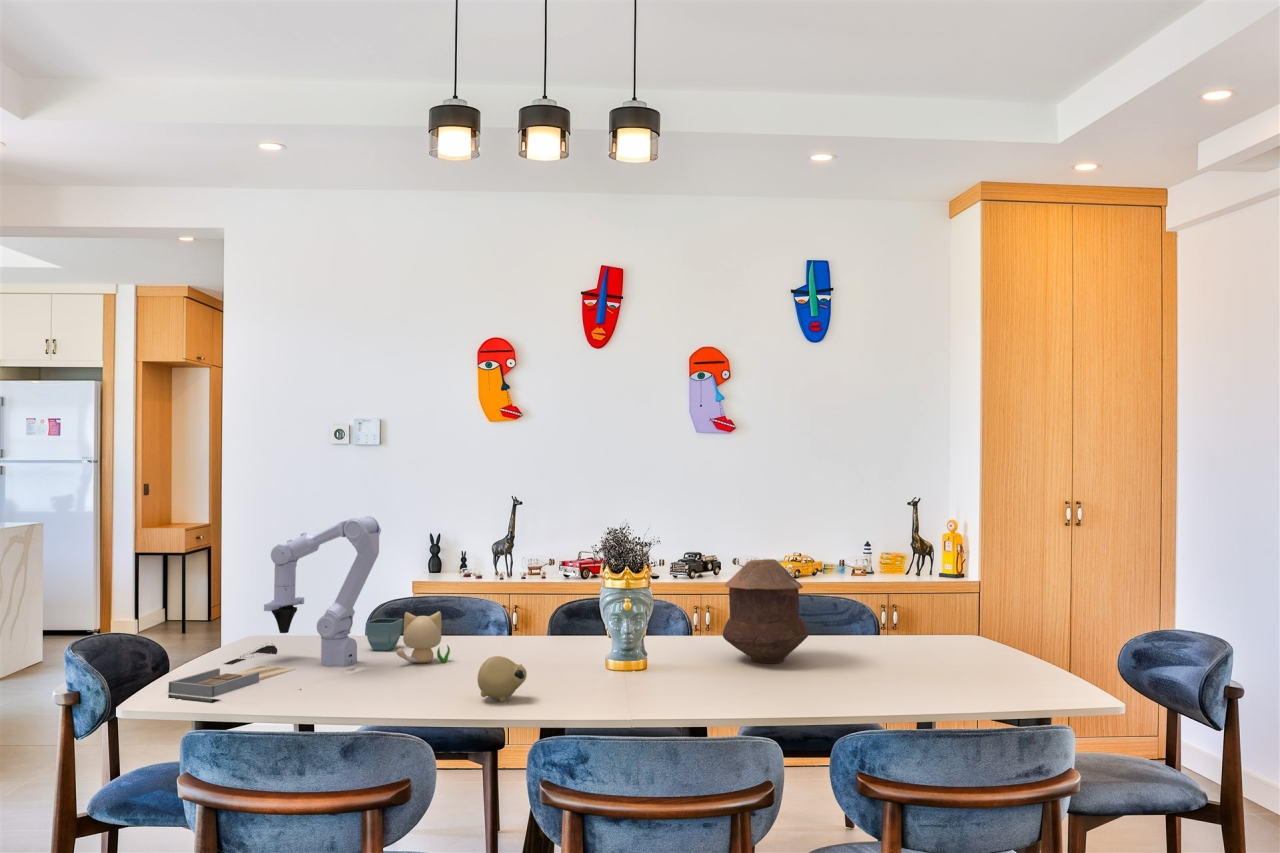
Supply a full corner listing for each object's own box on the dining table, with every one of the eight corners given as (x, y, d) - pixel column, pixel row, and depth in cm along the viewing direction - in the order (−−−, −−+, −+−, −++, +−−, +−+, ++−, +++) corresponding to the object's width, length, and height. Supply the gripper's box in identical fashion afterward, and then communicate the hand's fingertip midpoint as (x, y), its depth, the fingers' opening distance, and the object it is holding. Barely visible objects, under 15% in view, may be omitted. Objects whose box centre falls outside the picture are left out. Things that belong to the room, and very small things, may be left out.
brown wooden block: (241, 686, 230) (241, 674, 230) (227, 691, 225) (227, 679, 225) (225, 685, 231) (225, 673, 231) (211, 689, 226) (211, 677, 226)
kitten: (450, 657, 266) (451, 607, 267) (449, 665, 256) (449, 613, 257) (399, 659, 264) (400, 609, 264) (396, 667, 254) (396, 614, 255)
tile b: (227, 691, 224) (227, 679, 224) (212, 696, 219) (212, 684, 219) (211, 690, 225) (211, 678, 225) (196, 695, 221) (196, 683, 221)
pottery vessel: (802, 673, 247) (801, 565, 248) (713, 666, 255) (713, 562, 257) (814, 654, 271) (814, 556, 273) (733, 649, 280) (732, 554, 281)
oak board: (295, 674, 244) (295, 669, 244) (256, 687, 230) (256, 681, 230) (260, 671, 248) (260, 665, 248) (219, 683, 234) (219, 678, 234)
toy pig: (524, 705, 214) (524, 660, 214) (474, 705, 214) (474, 660, 214) (528, 694, 224) (528, 652, 224) (480, 694, 224) (481, 652, 224)
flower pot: (376, 646, 283) (377, 617, 284) (402, 646, 282) (403, 618, 283) (364, 651, 275) (365, 622, 275) (391, 652, 273) (391, 623, 274)
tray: (258, 687, 230) (259, 672, 230) (211, 703, 215) (212, 686, 215) (217, 683, 234) (217, 668, 234) (168, 698, 219) (168, 682, 219)
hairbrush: (203, 663, 247) (259, 641, 271) (204, 677, 247) (260, 653, 271) (230, 665, 245) (284, 643, 270) (230, 678, 245) (284, 655, 270)
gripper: (290, 581, 265) (289, 627, 264) (255, 588, 251) (254, 636, 250) (310, 582, 262) (309, 628, 262) (275, 589, 249) (274, 637, 248)
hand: (284, 632), depth 256 cm, fingers closed
